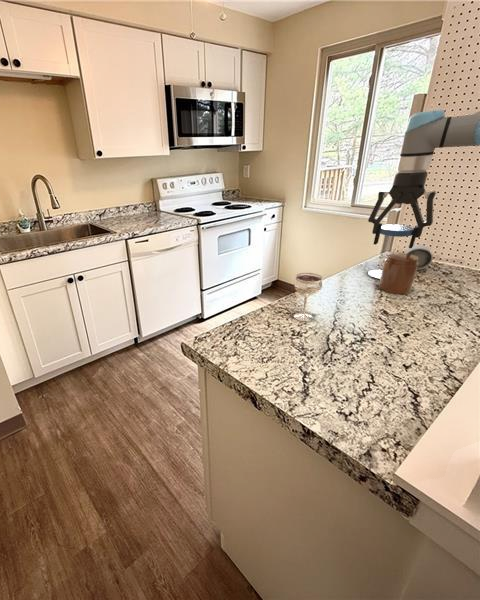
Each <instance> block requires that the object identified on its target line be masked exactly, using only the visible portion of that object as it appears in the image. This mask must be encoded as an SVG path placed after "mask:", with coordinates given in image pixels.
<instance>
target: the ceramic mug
mask: <svg viewBox="0 0 480 600" xmlns="http://www.w3.org/2000/svg"><path fill="white" fill-rule="evenodd" d="M404 253H405V254H411V255H415V256H417V257H418V259H419V260H418V261H417V262H418V263H419V264H418V268H417V271H420V270H423V269H426V268H428V267H429V266H430V265H431V264H432V262H433V259H434V256H433V252H431V249H430V248H429V247H428V246H425V245H423V244H414V245H413V247H412V248H409V247H408V248H407V249H406V250H405V251H404Z"/></svg>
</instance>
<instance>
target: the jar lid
mask: <svg viewBox="0 0 480 600" xmlns="http://www.w3.org/2000/svg"><path fill="white" fill-rule="evenodd" d="M414 227H415V226H411V225H405V224H384V225H382V226H381V228H380V231H379V233H380V235H383V236H387V237H398V238H399V237H401V238H402V237H412V234H413V231H414Z"/></svg>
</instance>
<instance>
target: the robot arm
mask: <svg viewBox="0 0 480 600" xmlns="http://www.w3.org/2000/svg"><path fill="white" fill-rule="evenodd" d="M445 113H446V111H445V110H444V109H438V110H437V109H436V110H428V111H427V110H426V111H421V112H414V113H413V114H412V115H411V116H410V117H409V118H408V122H407V126H406V128H405V131H404V135H403V141H402V145H401V149H400V154H399V157H398V163H397V166H396V171H397V172H396V173H395V174H394V179H393V183H392V186H391V188H390V189H389V190H380V191H378V195H377V200H376V203H375V205H374V207H373V208H372V210H371V214H370V215H369V217H368V219H367V222H369V223H371V224H373V228H372V235H375V236H374V240H373V243H372V244H373V245H377V244H379V241H380V237H381V234H380V233H379V231H380V228H381V226H383V223H381V222H382V221H383V220H384V218H386V216H387V214H388V213H389V212H390V211H391V210H392V209H393V208H394V206H395V205H403V204H404V205H410V207H411V209H412V212H413V215H414V218H415V222H416V225H415V226H413V227H414V231H413V234H412V235H411V238H410V241H409V245H408V248H412V247H413V246H414V245H415V241H416V239H417V238H419V239H420V237H421V236H422V234H423V230H424V228H425V227H431V226H432V225H433V223H434V199H435V197H436V195H437V191H436V190H426V189H425V186H426V181H427V178H428V174H429V172H428V170H429V169H430V167H431V164H432V160H433V156H434V152H435V149H438V148H439V149H443V148H457V147H458V148H459V147H480V110H478V111H476V112H473V113H472V114H463V115H458V116H445ZM388 195H389V196H390V197H391V199H392V200H391V201H390V202H389V204H388V205H387V206H386V207H385V209H383V211H382V212H381V214H380V215H379V216H378V217H377V215H378V213H379V211H380V209H381V206H382V204H383V202H384V200H385V198H387V197H388ZM423 195H424V198H425V199H426V211H425V212H426V215H425V217H426V219H425V221H424V218H423V215H422V212H421V208H420V205H419V201H418V199H420V198H421V197H422V196H423ZM376 217H377V218H376Z"/></svg>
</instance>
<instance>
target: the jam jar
mask: <svg viewBox="0 0 480 600" xmlns="http://www.w3.org/2000/svg"><path fill="white" fill-rule="evenodd" d="M418 260H419V259H418V257H417V256H415V255H411V254H405V252H392V253H389V254H387V257H386V258H385V259H384V262H383V267H382V269H381V270H382V274H381V278H380V280H379V283H378V286H377V287H378V289H379V290H381V291H383V292H386V293H389V294H395V295H404V294H409V293H410V292H411V291H412V288H413V284H414V281H415V277H416V274H417V271H418V270H417V268H418V264H419V263H418V262H417V261H418Z"/></svg>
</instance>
